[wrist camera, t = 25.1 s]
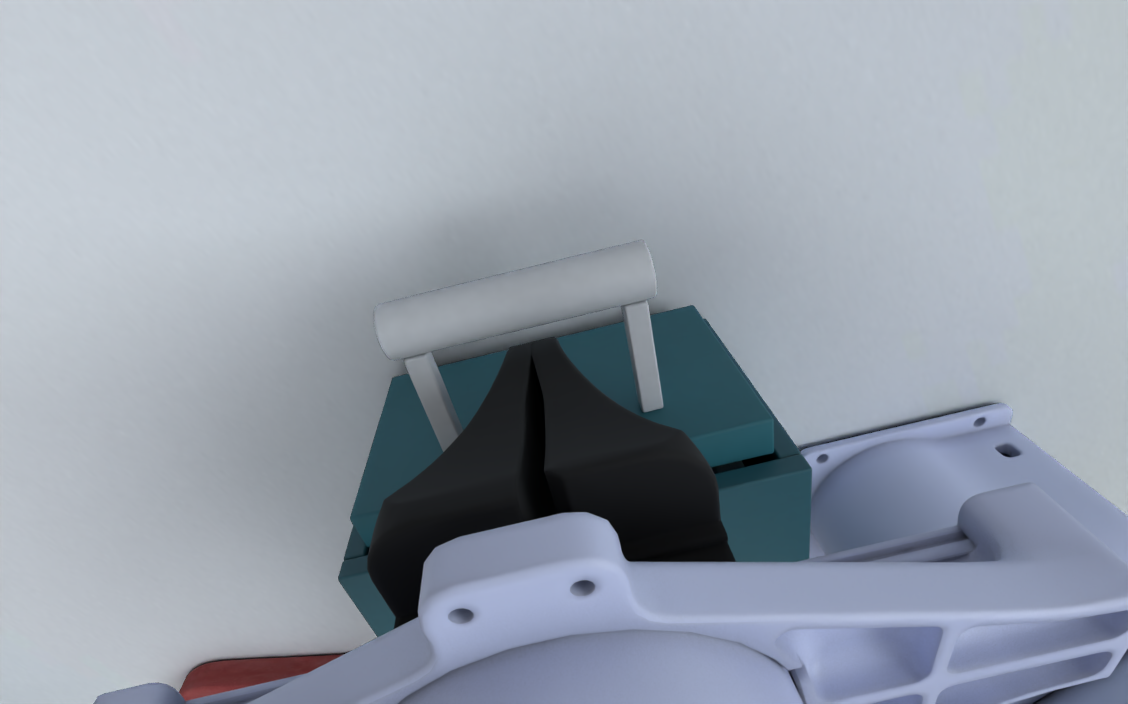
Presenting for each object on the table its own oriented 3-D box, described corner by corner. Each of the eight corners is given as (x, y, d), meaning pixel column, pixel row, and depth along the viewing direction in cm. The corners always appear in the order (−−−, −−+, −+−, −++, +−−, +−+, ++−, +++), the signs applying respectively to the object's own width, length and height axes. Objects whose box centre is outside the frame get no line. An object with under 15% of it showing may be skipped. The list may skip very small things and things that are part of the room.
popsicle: (476, 728, 30) (182, 739, 28) (477, 695, 32) (199, 703, 30) (478, 682, 28) (160, 691, 26) (480, 649, 29) (179, 655, 28)
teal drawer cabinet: (391, 393, 21) (336, 579, 14) (705, 317, 20) (813, 468, 13) (489, 600, 28) (486, 795, 21) (726, 545, 27) (804, 724, 20)
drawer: (335, 255, 17) (253, 367, 11) (680, 169, 17) (772, 241, 11) (489, 586, 26) (486, 743, 20) (717, 534, 26) (778, 677, 20)
